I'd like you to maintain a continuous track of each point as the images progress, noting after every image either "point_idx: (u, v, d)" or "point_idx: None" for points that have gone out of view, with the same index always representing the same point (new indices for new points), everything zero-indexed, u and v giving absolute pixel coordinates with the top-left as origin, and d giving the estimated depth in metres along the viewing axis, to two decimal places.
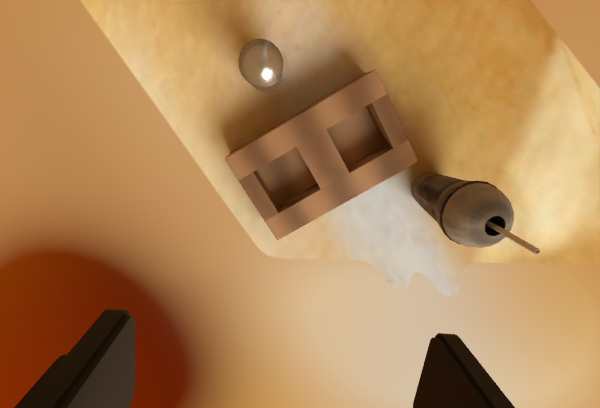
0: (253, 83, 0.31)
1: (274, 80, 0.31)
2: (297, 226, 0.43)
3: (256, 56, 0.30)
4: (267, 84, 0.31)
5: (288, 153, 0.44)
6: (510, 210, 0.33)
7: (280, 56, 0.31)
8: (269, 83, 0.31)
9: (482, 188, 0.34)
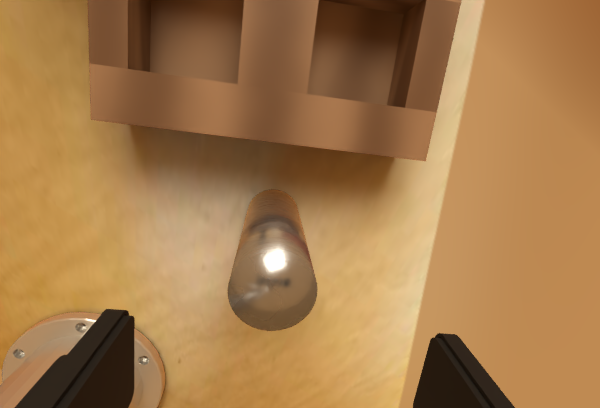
0: (309, 272, 0.15)
1: (270, 253, 0.15)
2: None
3: (271, 305, 0.15)
4: (287, 255, 0.15)
5: (322, 89, 0.23)
6: None
7: (232, 281, 0.15)
8: (282, 254, 0.15)
9: None
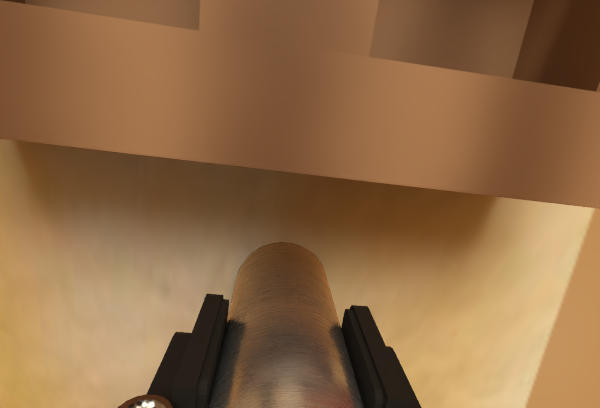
0: None
1: None
2: None
3: None
4: None
5: (385, 56, 0.11)
6: None
7: None
8: None
9: None
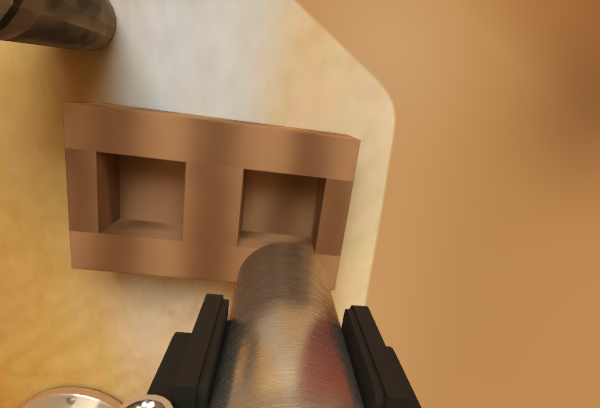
0: None
1: None
2: (316, 138, 0.24)
3: None
4: None
5: (258, 224, 0.29)
6: None
7: None
8: None
9: None
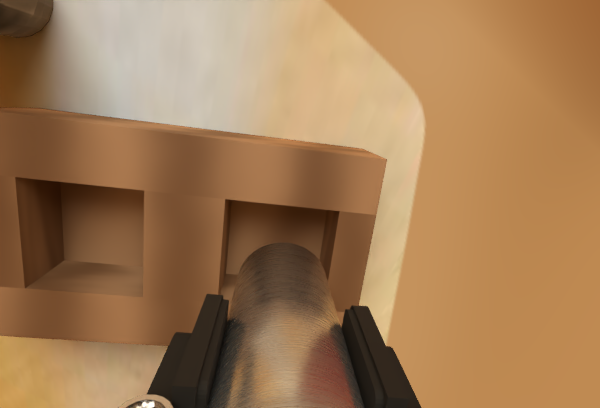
0: None
1: None
2: (326, 157, 0.17)
3: None
4: None
5: None
6: None
7: None
8: None
9: None
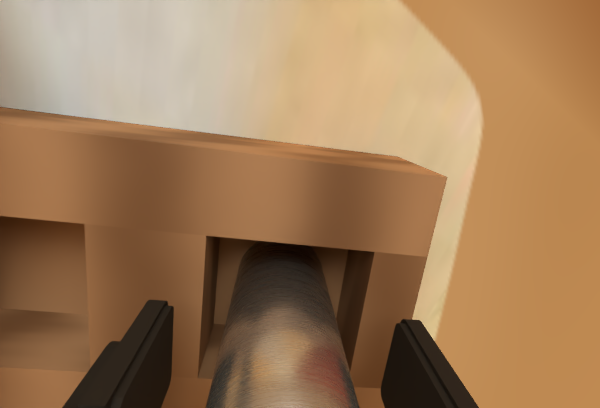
0: None
1: None
2: (357, 175, 0.11)
3: None
4: None
5: None
6: None
7: None
8: None
9: None
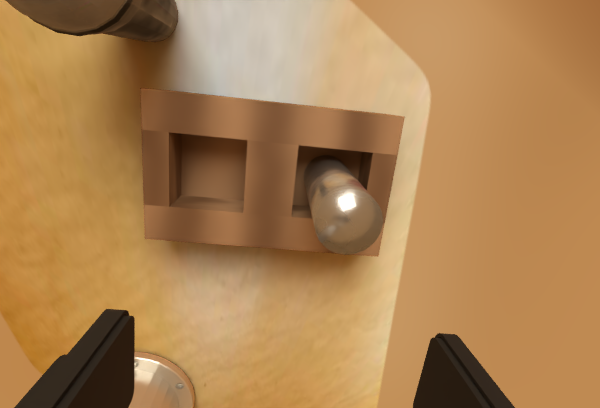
0: (377, 207, 0.19)
1: (348, 192, 0.19)
2: (364, 116, 0.26)
3: (347, 234, 0.20)
4: (361, 193, 0.19)
5: (305, 198, 0.32)
6: None
7: (318, 214, 0.19)
8: (357, 193, 0.19)
9: (21, 10, 0.16)
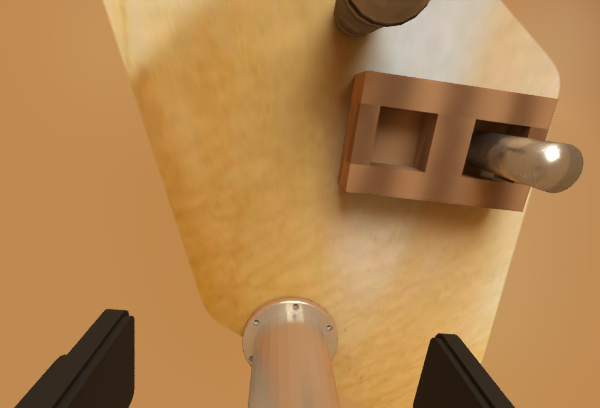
0: (581, 156, 0.27)
1: (562, 145, 0.27)
2: (528, 97, 0.34)
3: (556, 177, 0.27)
4: (571, 146, 0.27)
5: None
6: None
7: (539, 162, 0.27)
8: (569, 146, 0.27)
9: (372, 7, 0.24)
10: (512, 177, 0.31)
